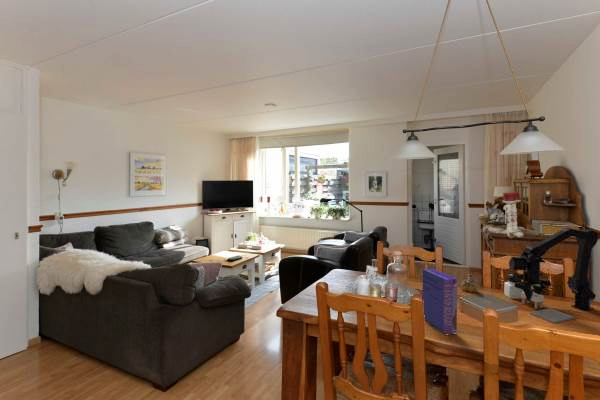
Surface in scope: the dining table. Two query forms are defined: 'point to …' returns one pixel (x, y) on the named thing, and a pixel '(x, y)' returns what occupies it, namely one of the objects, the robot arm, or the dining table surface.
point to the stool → (534, 299)
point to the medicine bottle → (512, 288)
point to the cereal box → (440, 300)
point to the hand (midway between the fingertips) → (532, 300)
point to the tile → (552, 315)
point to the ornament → (469, 285)
